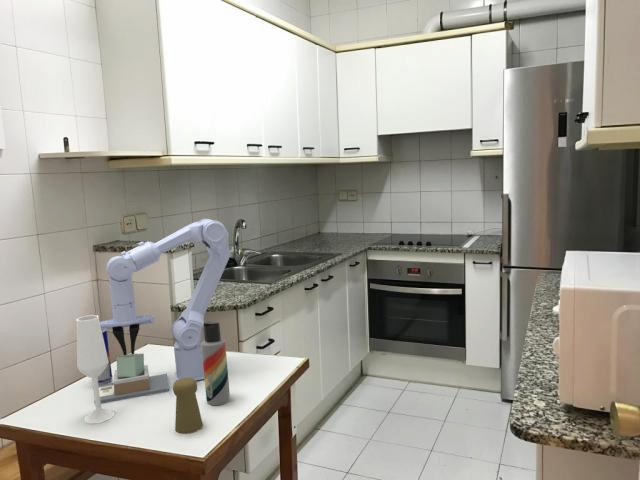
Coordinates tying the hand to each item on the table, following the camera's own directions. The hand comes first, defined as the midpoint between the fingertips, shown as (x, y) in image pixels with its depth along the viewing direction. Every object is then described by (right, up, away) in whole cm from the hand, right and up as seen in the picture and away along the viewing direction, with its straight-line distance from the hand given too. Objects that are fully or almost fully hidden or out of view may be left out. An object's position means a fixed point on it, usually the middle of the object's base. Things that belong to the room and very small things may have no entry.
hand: (129, 353), depth 141 cm
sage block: (0, -6, 0) cm, 6 cm away
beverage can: (-10, -10, +7) cm, 16 cm away
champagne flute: (-2, -12, -13) cm, 18 cm away
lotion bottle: (+25, -10, -8) cm, 28 cm away
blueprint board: (+1, -10, +1) cm, 10 cm away
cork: (+21, -12, -21) cm, 32 cm away
